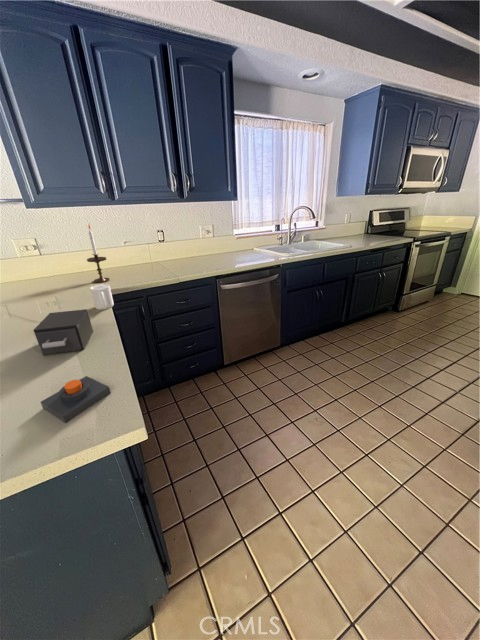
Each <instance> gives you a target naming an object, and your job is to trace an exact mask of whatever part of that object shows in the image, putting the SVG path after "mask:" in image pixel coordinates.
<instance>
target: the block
mask: <svg viewBox="0 0 480 640" xmlns="http://www.w3.org/2000/svg"><path fill="white" fill-rule="evenodd" d="M79 380H80V381H81V384H82V389H81V390H80V391H78V392H76V393H73V394H67V393H66V391H65V388H64V386H65V385H63V387H61V388H60V390H58V391H57V392H55V393H53V394H52V395H50V396H48V397H46V398H45V399H43V400H41V401H40V404H41V407H42V409H43V410H45V412H47V413H49V414H50V415H52V416H54V417H55V418H57V419H58V420H60V421H61V422H63V423H64V424H68V423H69V422H70V421H72V420H74V419H75V418H76V417H78V416H79V415H81V414H82V413H84V412H86V411H87V410H88V409H90V408H91V407H93V406H95V404H97V403H99V402H100V401H102V400H104V398H106V397H108V396H109V395H111V394H112V393H111V389H110V387H109V385H105V384H104V383H102V382H100V381H98V380H96V379H94V378H92V377H90V376H87V375H85V376H84V377H82V378H79Z"/></svg>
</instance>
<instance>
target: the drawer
mask: <svg viewBox="0 0 480 640" xmlns="http://www.w3.org/2000/svg"><path fill="white" fill-rule="evenodd" d="M35 335H36V336H35ZM34 336H35V338H36V341H37V343H39V344H38V346H39V349H40V351H41V354H42V355H43V354H49V355H51V354H50V353H56V354H59V353H58V352H63V353H66V352H65V351H71V352H74V351H73V350H78V351H81V350H80V349H81V345H80V342H79V338H78V335H77V332H76V329H75V327H74V328H65V329H57V330H48V331H41V332H36V333H34Z"/></svg>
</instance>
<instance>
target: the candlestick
mask: <svg viewBox="0 0 480 640" xmlns="http://www.w3.org/2000/svg"><path fill="white" fill-rule="evenodd" d="M88 235H89V240H90V245H91V248H92V253H93V254H91V255H92V257H88V258H86V261H87V262H88V263H95V264H96V266H97V269H96V271H97V275H99V277H98V278H95V279H93V283H95V284H105V283H108V282H110V278H109V277H103V272H102V270H103V269H102V268H101V266H100V263H101V262H104V261H106V260H107V257H106V256H99V253H98V251H97V247H96V243H95V239H94V238H95V237H94V234H93V231H92V230H91V225H90V223H88Z"/></svg>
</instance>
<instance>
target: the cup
mask: <svg viewBox="0 0 480 640" xmlns="http://www.w3.org/2000/svg"><path fill="white" fill-rule="evenodd" d="M89 289H90V293H91V297H92V300H93V304H94V307H95V308H96V309H97V310H99V311H101V310H102V311H103V310H108V309H111V308H113V307H114V305H115V303H114V299H113V298H114V297H113V294H112V290H111V285H110V284H107V283H100V284H95V285H93V286H91V287H90V288H89Z"/></svg>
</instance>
